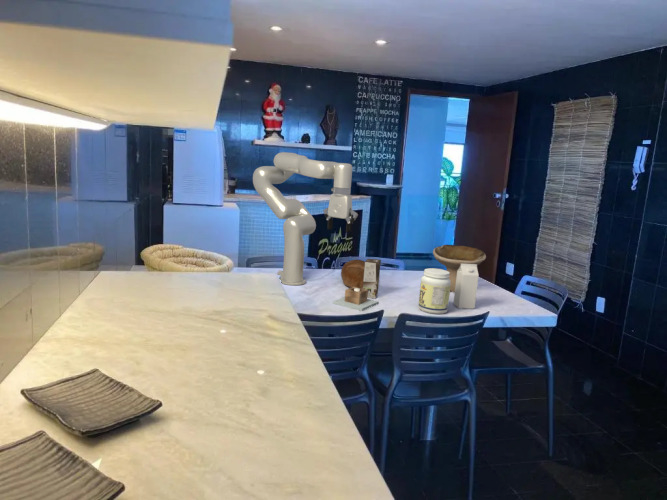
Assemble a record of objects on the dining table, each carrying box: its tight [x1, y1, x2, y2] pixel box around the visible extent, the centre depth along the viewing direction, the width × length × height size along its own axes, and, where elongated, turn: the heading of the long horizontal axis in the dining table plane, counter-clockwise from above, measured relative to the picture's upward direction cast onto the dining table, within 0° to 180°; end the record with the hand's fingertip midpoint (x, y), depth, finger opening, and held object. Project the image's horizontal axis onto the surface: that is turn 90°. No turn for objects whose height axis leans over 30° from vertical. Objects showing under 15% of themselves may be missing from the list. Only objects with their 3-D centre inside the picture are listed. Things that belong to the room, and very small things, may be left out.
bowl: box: [432, 244, 487, 293], centre depth 248 cm, size 26×25×20 cm
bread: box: [340, 259, 365, 289], centre depth 246 cm, size 16×29×11 cm, turn 2°
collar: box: [344, 287, 368, 305], centre depth 211 cm, size 7×7×5 cm
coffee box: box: [363, 258, 382, 300], centre depth 225 cm, size 9×6×16 cm
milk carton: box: [453, 264, 479, 310], centre depth 218 cm, size 7×7×19 cm
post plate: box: [332, 288, 379, 312], centre depth 211 cm, size 14×14×6 cm
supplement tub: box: [417, 267, 451, 315], centre depth 209 cm, size 12×12×17 cm
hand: (339, 230), depth 222 cm, fingers open, 9 cm apart
